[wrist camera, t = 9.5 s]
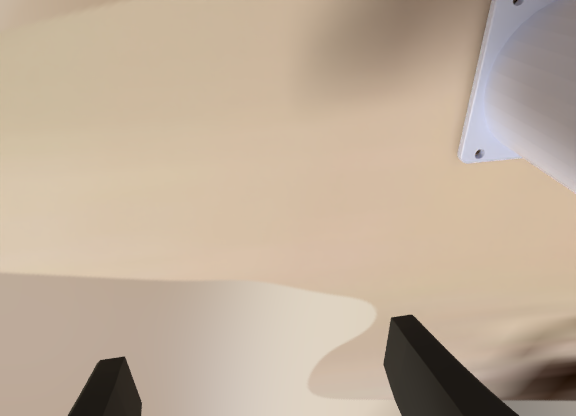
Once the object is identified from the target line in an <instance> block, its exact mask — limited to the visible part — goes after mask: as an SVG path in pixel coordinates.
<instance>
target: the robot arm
mask: <svg viewBox="0 0 576 416" xmlns="http://www.w3.org/2000/svg"><path fill="white" fill-rule="evenodd" d="M478 150H480V152H479V153H478V154H477V155H475V153H476V152H477V151H478ZM458 158H459V159H460V160H461V161H462V162H464V163H478V162H488V161H498V160H508V159H519V158H524V159H525V160H527V161H528V162H530V163H531V164H533V165H534V166H535V167H537V168H538V169H540V170H541V171H543V172H544V173H546V174H547V175H549V176H550V177H552V178H553V179H555V180H556V181H558V182H559V183H561V184H562V185H564V186H565V187H567V188H568V189H569V190H571V191H572V192H574V193H575V194H576V0H518V1H517V2H516V3H515V4H514V3H513V0H491V5H490V9H489V14H488V18H487V23H486V27H485V32H484V37H483V41H482V46H481V50H480V55H479V59H478V64H477V68H476V73H475V77H474V82H473V86H472V91H471V95H470V100H469V104H468V109H467V113H466V118H465V122H464V127H463V131H462V136H461V140H460V145H459V150H458ZM384 367H385V371H386V374H387V377H388V380H389V383H390V387H391V390H392V392H393V395H394V398H395V401H396V403H397V406H398V408H399V410H400V413H401V415H402V416H519V415H518V414H516V413H515V412H514V411H513V410H512V409H511V408H509V407H508V406H507V405H506V404H505V403H503V402H502V401H501V400H500V399H499V398H498V397H497V396H495V395H494V394H493V393H492V392H491V391H490V390H489V389H488V388H487V387H485V386H484V385H483V384H482V383H481V382H480V381H479V380H478V379H477V378H476V377H475V376H474V375H473V374H471V373H470V372H469V371H468V370H467V369H466V368H465V367H464V366H463V365H462V364H461V363H460V362H459V361H458V360H457V359H456V358H455V357H454V356H453V355H452V354H451V353H450V352H449V351H448V350H447V349H446V348H445V347H444V346H443V345H442V344H441V343H440V342H439V341H438V340H437V339H436V338H435V337H434V336H433V335H432V334H431V333H430V332H429V331H428V330H427V329H426V328H425V327H424V326H423V325H422V324H421V323H420V322H419V321H418V320H417V319H416V318H415V317H414V316H413V315H405V316H399V317H392V318H391V322H390V328H389V334H388V340H387V346H386V352H385V358H384ZM141 409H142V402H141V400H140V397H139V394H138V391H137V389H136V386H135V383H134V380H133V377H132V375H131V372H130V369H129V366H128V364H127V361H126V358H125V357H119V358H112V359H105V360H100V361H99V362H98V363H97V365H96V367H95V368H94V370H93V372H92V374H91V376H90V377H89V379H88V381H87V383H86V385H85V386H84V388H83V390H82V392H81V394H80V395H79V397H78V399H77V401H76V402H75V404H74V406H73V407H72V409H71V411H70V413H69V414H68V416H141Z"/></svg>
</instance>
